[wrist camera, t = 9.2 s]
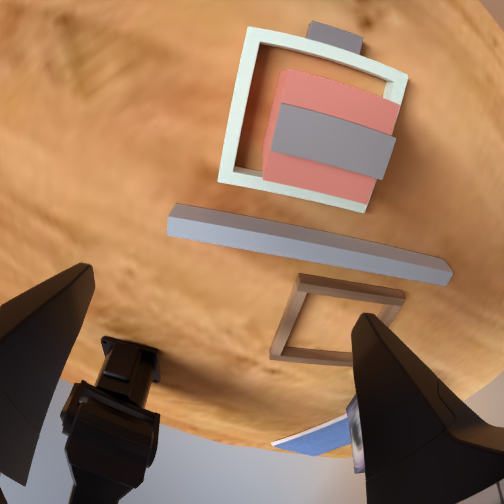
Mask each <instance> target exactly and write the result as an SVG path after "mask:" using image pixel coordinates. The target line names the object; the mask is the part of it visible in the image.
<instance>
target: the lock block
mask: <svg viewBox="0 0 504 504" xmlns="http://www.w3.org/2000/svg"><path fill="white" fill-rule="evenodd" d="M399 108H400V105H399V104H397V103H394V102H392V101H390V100H387V99H385V98H382V97H380V96H377V95H374V94H372V93H369V92H366V91H364V90H361V89H358V88H355V87H352V86H349V85H346V84H343V83H340V82H337V81H334V80H330V79H327V78H324V77H320V76H317V75H313V74H309V73H305V72H302V71H298V70H294V69H286V70H284V71H282V72H280V74H279V78H278V82H277V87H276V91H275V95H274V100H273V104H272V108H271V113H270V117H269V121H268V126H267V130H266V135H265V139H264V143H263V148H262V162H263V180H265V181H270V182H274V183H279V184H284V185H288V186H293V187H297V188H302V189H306V190H310V191H315V192H319V193H323V194H327V195H331V196H335V197H339V198H343V199H347V200H351V201H355V202H358V203H362V204H366V205H367V203H368V201H369V198H370V195H371V193H372V190H373V187H374V184H375V182H376V179H379V180H383V177H384V174H385V171H386V168H387V165H388V163H389V160H390V157H391V154H392V151H393V148H394V145H395V142H396V139H397V138H395V137H393V136H391V134H392V131H393V128H394V125H395V121H396V118H397V115H398V111H399Z"/></svg>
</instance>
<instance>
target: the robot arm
mask: <svg viewBox="0 0 504 504" xmlns="http://www.w3.org/2000/svg"><path fill="white" fill-rule="evenodd" d="M94 290H95V280H94V272H93V267H92V265H90V264H87V263H78V264H76V265H74V266H72V267H70V268H69V269H67V270H65V271H63V272H61V273H59V274H57V275H55V276H53V277H51V278H49V279H47V280H46V281H44V282H42V283H40V284H38V285H36V286H34V287H33V288H31V289H29V290H27V291H25V292H24V293H22V294H20V295H18V296H16V297H15V298H13V299H11V300H9V301H8V302H6V303H4V304H2V305H1V307H0V475H1V473H3V474H4V475H6V476H7V477H9V478H11V479H12V480H14V481H16V482H18V483H20V484H21V485H23V486H26V483H27V479H28V474H29V471H30V467H31V463H32V459H33V456H34V452H35V449H36V445H37V441H38V438H39V433H40V431H41V428H42V425H43V422H44V419H45V416H46V413H47V410H48V407H49V405H50V402H51V399H52V396H53V393H54V391H55V389H56V386H57V383H58V381H59V378H60V376H61V373H62V371H63V368H64V366H65V364H66V361H67V359H68V357H69V354H70V352H71V350H72V347H73V345H74V343H75V341H76V338H77V336H78V334H79V332H80V329H81V327H82V324H83V321H84V318H85V315H86V313H87V310H88V307H89V304H90V301H91V299H92V296H93V293H94ZM351 340H352V357H353V374H354V381H355V388H356V395H357V402H358V409H359V417H360V425H361V434H362V443H363V453H364V464H365V476H366V494H367V504H504V428H502V427H495V426H492V425H490V424H488V423H486V422H485V421H484V420H482V419H481V418H480V417H479V416H478V415H477V414H476V413H474V411H472V410H471V409H470V408H469V407H468V406H467V405H466V404H465V403H463V401H461V400H460V399H459V398H458V397H457V396H456V395H455V394H454V393H453V392H452V391H451V390H450V389H449V388H448V387H447V386H446V385H445V384H444V383H443V382H442V381H441V380H440V379H439V378H437V376H436V375H435V374H434V373H433V372H432V371H431V370H430V369H429V368H428V367H427V366H426V365H425V364H424V363H423V362H422V361H421V360H420V359H419V358H418V357H417V356H416V355H415V354H414V353H413V352H412V351H411V350H410V349H409V348H408V347H407V346H406V345H405V344H404V343H403V342H402V341H401V340H400V339H399V338H398V337H397V336H396V335H395V334H394V333H393V332H392V331H391V330H390V329H389V328H388V327H387V326H386V325H385V324H384V323H383V322H382V321H381V320H380V319H379V318H378V317H377V316H376V315H374V314H372V313H362V314H361V315H360V317H359V319H358V320H357V322H356V324H355V326H354V327H353V329H352V333H351ZM101 344H102V347H103V351H104V355H105V360H104V363H103V365H102V368H101V370H100V373H99V375H98V378H97V380H96V383H95V386H92V385H90V384H88V383H87V382H86V381H84V380H82V381H81V384H80V383H74V386H73V388H72V391H71V393H70V396H69V397H68V399H67V401H66V403H65V405H64V407H63V409H62V411H61V414H60V417H61V420H62V422H63V424H62V426H63V431H62V433H63V434H65V435H67V436H68V439H67V442H66V446H65V454H66V458H67V462H68V465H69V469H70V473H71V476H72V479H73V486H72V489H71V493H70V497H69V501H68V504H118V502H119V500H120V499H121V498H122V497H124V496H125V495H126V494H127V493H129V491H131V490H132V489H133V488H135V489H136V488H137V487H138V486H139V485H140V484H141V483H142V482H143V480H144V474H145V470H146V468H149V467H150V466H151V464H152V462H153V460H154V458H155V455H156V451H157V445H158V434H159V423H160V414H158V413H156V412H155V413H154V412H151V411H148V410H146V409H145V405H146V401H147V398H148V394H149V390H150V386H151V383H152V382H154V383H159V381H160V372H159V358H158V351H157V350H155V349H152V348H147V347H143V346H139V345H135V344H131V343H127V342H123V341H119V340H116V339H112V338H108V337H102V339H101ZM81 401H82V402H81ZM0 504H7V501H6V499H5V497H4V495H3V492H2V490H1V488H0Z"/></svg>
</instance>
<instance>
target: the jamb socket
mask: <svg viewBox="0 0 504 504" xmlns="http://www.w3.org/2000/svg"><path fill="white" fill-rule="evenodd" d="M307 293H313V294H319V295H326V296H332V297H339V298H346V299H353V300H360V301H367V302H374V303H381V304H385V305H384V307H383V309H382V310H381V312H380V314H379V315H378V318H379V319H380V320H381V321H382V322H383V323H384V324H385V325H386V326H387V327H388V326H389V325H390V323H391V322H392V320H393V319H394V317H395V316H396V314H397V313H398V311H399V309H400V308H401V306H402V305H403V303H404V301H405V300H406V299H405V297H404V295H403V293H402V291H401V290H397V289H391V288H384V287H378V286H372V285H366V284H360V283H354V282H348V281H342V280H336V279H330V278H325V277H319V276H313V275H307V274H301V273H298V276H297V279H296V282H295V284H294V287H293V290H292V293H291V295H290V298H289V301H288V303H287V306H286V309H285V311H284V314H283V317H282V319H281V322H280V324H279V327H278V329H277V332H276V335H275V337H274V340H273V342H272V345H271V347H270V350H269V353H270V360H278V361H287V362H296V363H307V364H319V365H333V366H349V367H353V357H352V353H346V352H333V351H322V350H312V349H302V348H293V347H285V343H286V341H287V339H288V337H289V334H290V332H291V330H292V327H293V325H294V323H295V321H296V318H297V316H298V313H299V311H300V309H301V306H302V304H303V302H304V299H305V297H306V294H307Z"/></svg>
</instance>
